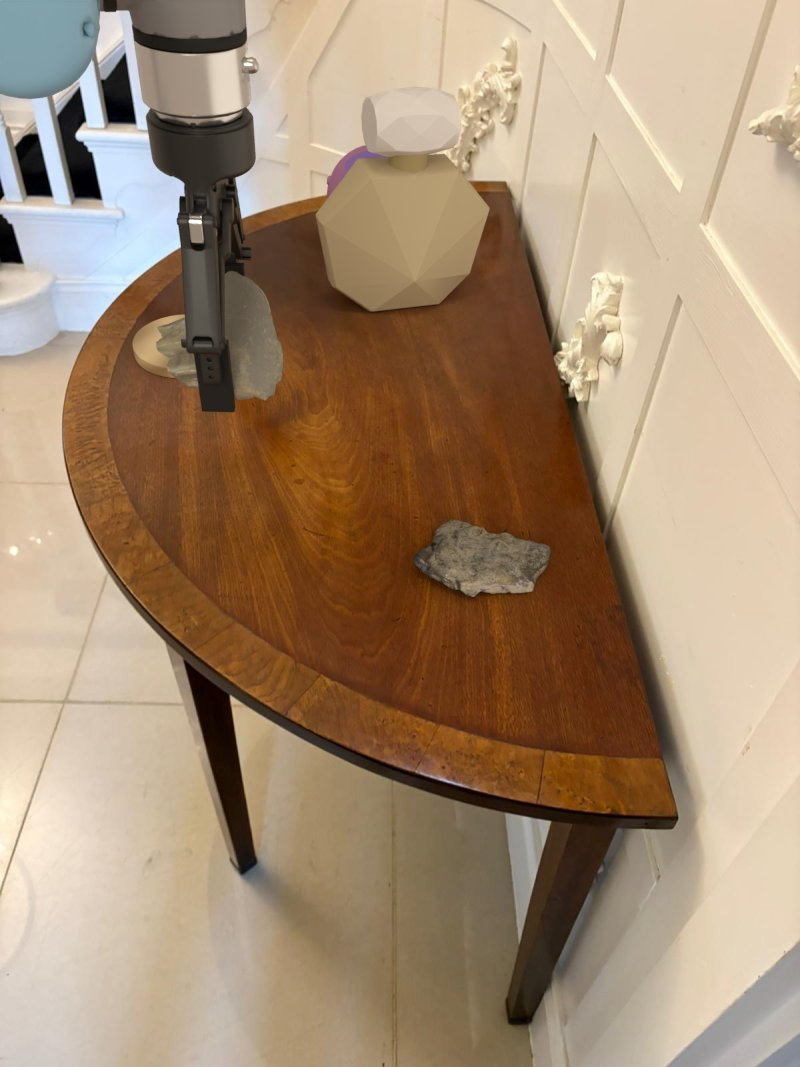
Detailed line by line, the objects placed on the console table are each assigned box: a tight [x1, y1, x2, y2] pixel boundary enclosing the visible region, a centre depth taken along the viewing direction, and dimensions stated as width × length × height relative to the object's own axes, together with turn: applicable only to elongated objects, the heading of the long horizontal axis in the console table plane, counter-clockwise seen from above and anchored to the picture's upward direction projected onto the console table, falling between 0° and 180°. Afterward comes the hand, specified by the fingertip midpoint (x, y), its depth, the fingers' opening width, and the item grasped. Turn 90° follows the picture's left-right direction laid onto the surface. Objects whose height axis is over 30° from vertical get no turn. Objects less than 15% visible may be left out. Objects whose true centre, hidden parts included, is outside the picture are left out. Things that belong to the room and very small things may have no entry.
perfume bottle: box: [315, 86, 491, 313], centre depth 105 cm, size 12×24×28 cm, turn 108°
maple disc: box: [132, 313, 185, 379], centre depth 101 cm, size 13×13×2 cm
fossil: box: [156, 271, 285, 402], centre depth 69 cm, size 14×10×10 cm
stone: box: [412, 518, 552, 598], centre depth 77 cm, size 14×8×3 cm, turn 76°
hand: (227, 366), depth 71 cm, fingers closed on fossil, 12 cm apart
